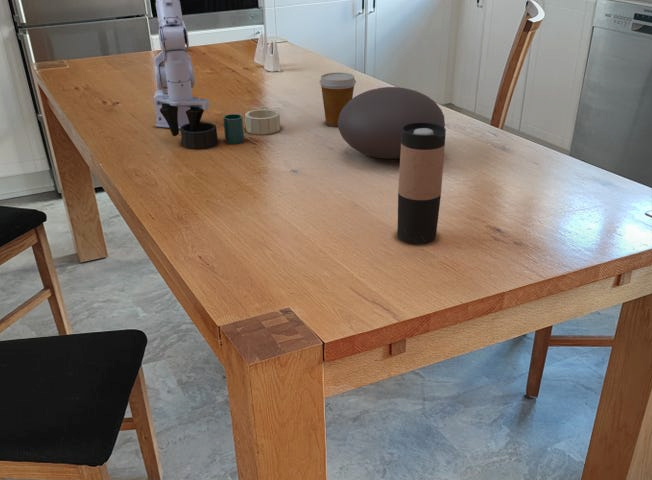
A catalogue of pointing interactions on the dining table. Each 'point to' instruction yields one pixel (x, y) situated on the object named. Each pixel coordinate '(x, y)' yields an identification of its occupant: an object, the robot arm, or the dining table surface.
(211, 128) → the black ring
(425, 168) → the travel mug
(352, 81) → the disposable coffee cup
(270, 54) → the shaker set
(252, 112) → the ivory ring
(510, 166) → the dining table surface
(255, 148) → the dining table surface
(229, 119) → the espresso cup
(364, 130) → the smooth stone
